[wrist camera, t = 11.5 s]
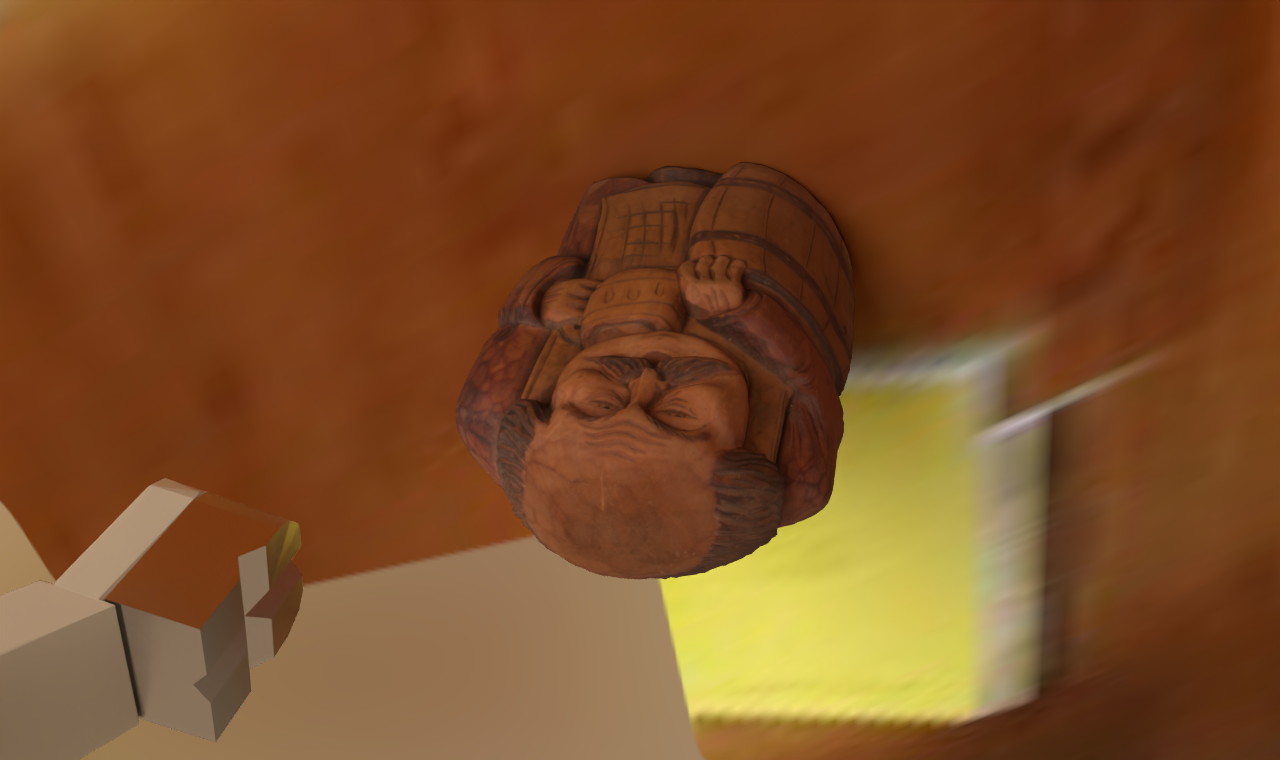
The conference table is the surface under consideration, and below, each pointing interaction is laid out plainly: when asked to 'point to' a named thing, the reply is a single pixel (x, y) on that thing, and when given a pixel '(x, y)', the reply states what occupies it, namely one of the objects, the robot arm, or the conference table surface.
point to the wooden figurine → (670, 373)
